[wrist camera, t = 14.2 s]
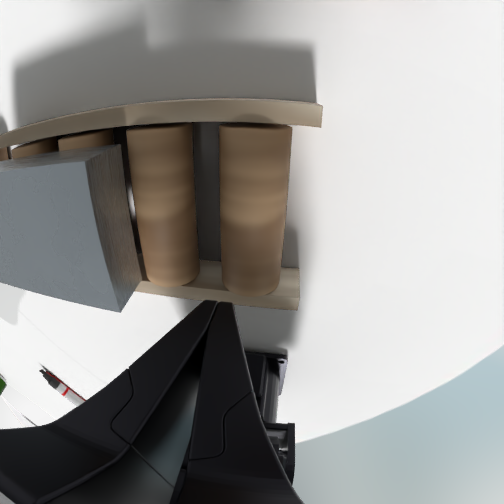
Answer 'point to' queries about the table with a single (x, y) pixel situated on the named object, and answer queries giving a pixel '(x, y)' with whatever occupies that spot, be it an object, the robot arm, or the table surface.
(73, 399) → the marker
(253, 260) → the roller bed
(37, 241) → the slab
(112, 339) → the table surface
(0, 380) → the green drink can
